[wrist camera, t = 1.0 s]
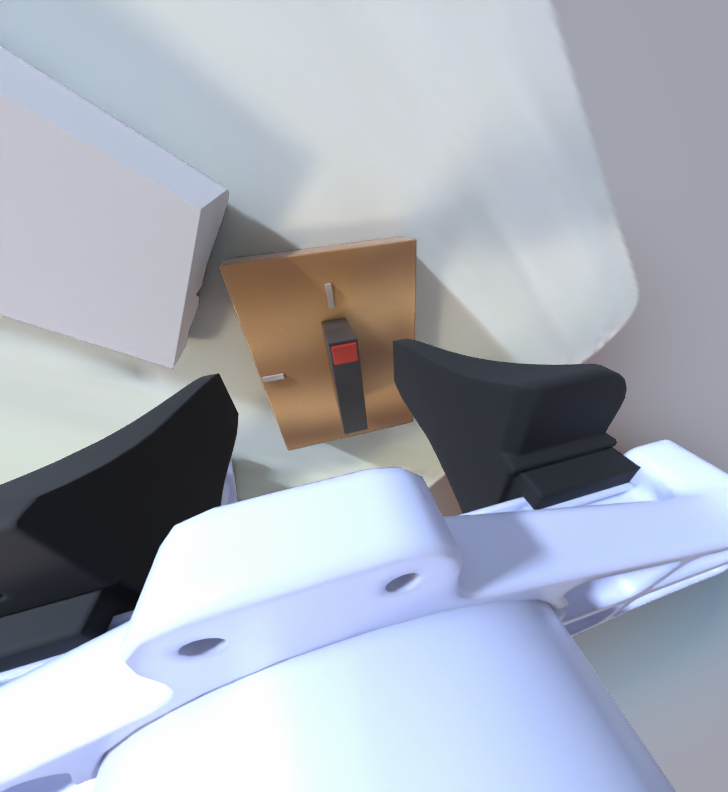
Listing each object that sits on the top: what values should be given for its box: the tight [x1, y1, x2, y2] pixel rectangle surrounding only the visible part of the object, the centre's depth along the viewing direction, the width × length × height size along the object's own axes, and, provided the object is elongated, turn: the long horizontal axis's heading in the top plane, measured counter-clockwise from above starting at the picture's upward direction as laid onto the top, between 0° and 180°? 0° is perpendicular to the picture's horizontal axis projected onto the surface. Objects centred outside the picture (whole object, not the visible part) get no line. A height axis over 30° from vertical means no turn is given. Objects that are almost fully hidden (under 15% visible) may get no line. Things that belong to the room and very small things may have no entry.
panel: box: [219, 237, 416, 451], centre depth 19 cm, size 14×11×3 cm
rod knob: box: [321, 318, 368, 434], centre depth 17 cm, size 6×2×4 cm, turn 6°
